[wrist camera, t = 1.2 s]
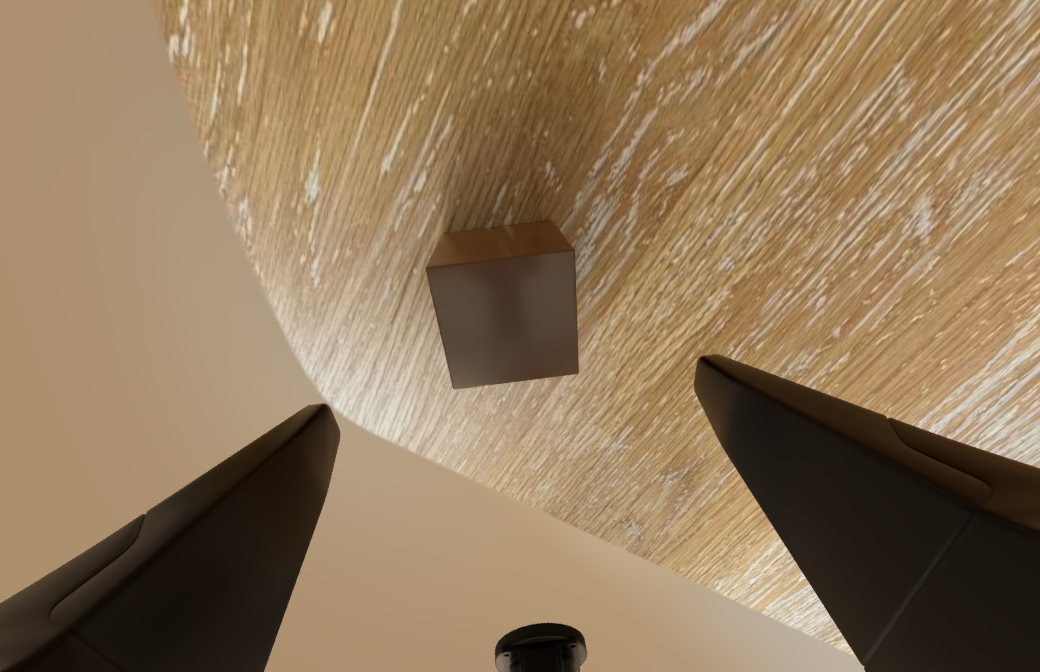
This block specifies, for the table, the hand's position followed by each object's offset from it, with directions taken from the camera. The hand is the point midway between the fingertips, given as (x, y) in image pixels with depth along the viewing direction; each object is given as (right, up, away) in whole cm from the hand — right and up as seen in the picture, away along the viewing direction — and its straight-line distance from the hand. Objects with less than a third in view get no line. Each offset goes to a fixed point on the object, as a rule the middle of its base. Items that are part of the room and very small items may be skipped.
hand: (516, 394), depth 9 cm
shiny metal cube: (-1, +4, +7) cm, 8 cm away
